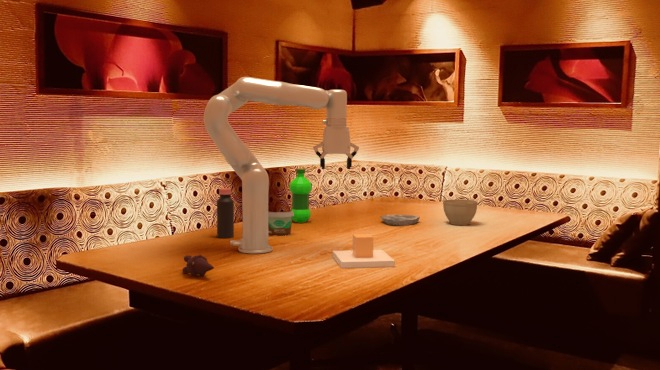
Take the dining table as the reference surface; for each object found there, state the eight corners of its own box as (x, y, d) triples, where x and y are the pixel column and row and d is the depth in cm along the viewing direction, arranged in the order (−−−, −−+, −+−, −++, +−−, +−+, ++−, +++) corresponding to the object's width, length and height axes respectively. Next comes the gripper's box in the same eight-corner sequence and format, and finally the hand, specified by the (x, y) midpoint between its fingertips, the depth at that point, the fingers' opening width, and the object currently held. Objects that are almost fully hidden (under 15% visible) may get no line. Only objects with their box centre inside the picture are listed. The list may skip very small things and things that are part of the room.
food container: (267, 237, 265) (267, 213, 264) (265, 234, 271) (265, 210, 269) (296, 235, 268) (296, 212, 267) (293, 233, 274) (293, 210, 273)
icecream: (224, 257, 197) (194, 254, 207) (205, 255, 192) (176, 252, 202) (221, 280, 196) (191, 276, 206) (202, 278, 191) (172, 274, 201)
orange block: (355, 257, 218) (356, 237, 218) (352, 254, 224) (352, 234, 224) (373, 257, 219) (373, 237, 219) (369, 253, 225) (369, 234, 224)
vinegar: (230, 238, 260) (230, 189, 257) (214, 238, 261) (214, 189, 259) (236, 235, 266) (235, 188, 264) (220, 235, 268) (220, 187, 265)
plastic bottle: (311, 223, 297) (311, 170, 295) (288, 223, 298) (288, 170, 295) (312, 220, 307) (312, 168, 305) (290, 220, 308) (290, 168, 305)
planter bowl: (474, 221, 309) (475, 199, 308) (479, 227, 293) (479, 203, 292) (441, 220, 310) (441, 198, 309) (443, 226, 294) (444, 203, 293)
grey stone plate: (394, 219, 316) (395, 213, 316) (424, 223, 305) (425, 216, 305) (371, 224, 301) (372, 217, 301) (402, 228, 290) (402, 221, 290)
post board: (341, 268, 212) (342, 248, 211) (332, 256, 229) (333, 238, 229) (394, 266, 215) (394, 247, 214) (381, 255, 232) (382, 237, 232)
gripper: (314, 123, 232) (314, 170, 234) (361, 123, 235) (360, 169, 237) (312, 122, 240) (311, 168, 242) (357, 123, 243) (356, 168, 244)
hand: (335, 169), depth 239 cm, fingers open, 9 cm apart
